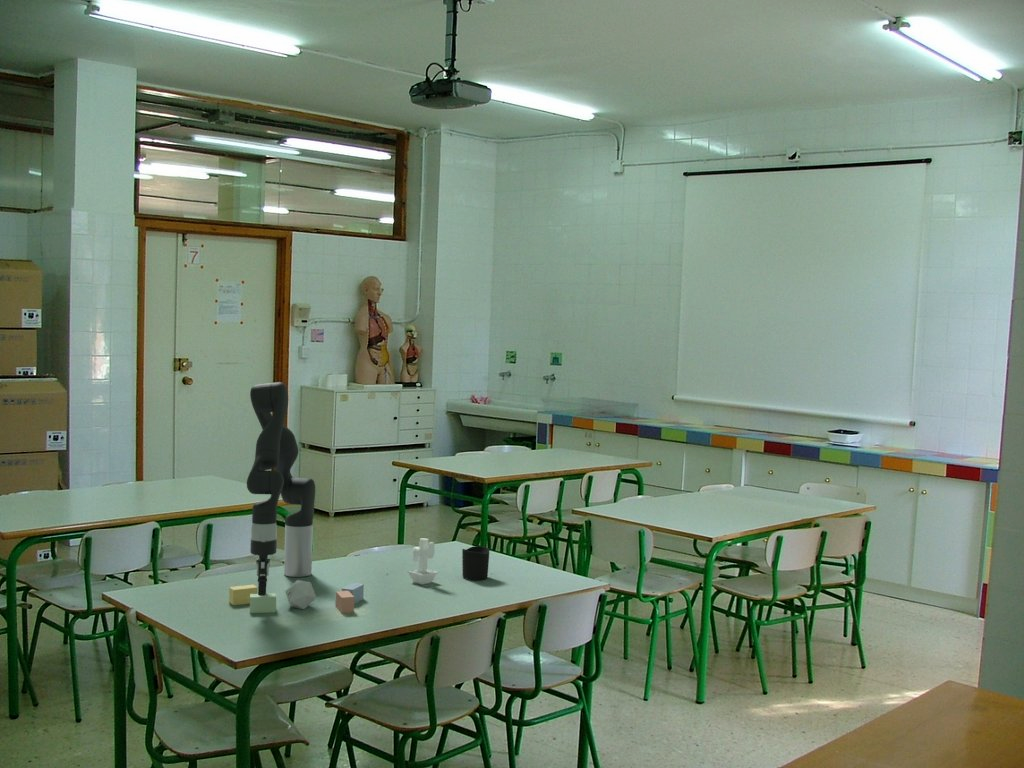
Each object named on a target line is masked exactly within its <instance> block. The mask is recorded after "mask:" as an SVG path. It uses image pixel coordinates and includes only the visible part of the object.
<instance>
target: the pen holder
mask: <svg viewBox="0 0 1024 768" xmlns="http://www.w3.org/2000/svg"><path fill="white" fill-rule="evenodd" d="M461 554H462V555H461V556H462V558H461V559H462V561H461V562H462V577H463V579H465V580H469V581H484V580H487V578H488V574H489V563H490V562H489V561H490V548H488V547H486V546H478V545H475V546H471V547H469V548H466V549H465V548H462V552H461Z"/></svg>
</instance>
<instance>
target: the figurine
mask: <svg viewBox="0 0 1024 768" xmlns="http://www.w3.org/2000/svg"><path fill="white" fill-rule="evenodd" d="M434 556H435V542H433V541H430V542H429V539H428V538H426V537H425V538H424V537H423V538H419V542H418V546H414V547H413V549H412V562H413V563H418V569H417V568H416V569H413V570H408V571H407V573H408V574H409V576H410V579H411V580H412V582H413V583H415V584H418V585H423V586H424V585H428V584H432V583H433V582H434V580H435V578H436V576H437V575H438V573H439V572H438V571H435V570H431V569H429V568H428V559H433V558H434Z"/></svg>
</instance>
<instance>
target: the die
mask: <svg viewBox="0 0 1024 768" xmlns="http://www.w3.org/2000/svg"><path fill="white" fill-rule="evenodd" d="M284 593H285V595H286V598H287V601H288V604H289V606H290V608H295V609H300V610H305V609H306V608H307V607H309V605H311V603H312V602H314V601H315V600H316V599H317V596H316V592H315V590H314V588H313V585H312V582H310V581H307V580H306V581H305V580H301V579H297V580H295V581H294V583H292V584H291V585H290V586H289V587H288V588H287V589H286V590H285V591H284Z"/></svg>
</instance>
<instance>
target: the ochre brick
mask: <svg viewBox="0 0 1024 768" xmlns="http://www.w3.org/2000/svg"><path fill="white" fill-rule="evenodd" d="M228 590H229V591H228V594H229V595H228V596H229V597H228V603H229V604H231V605H232V606H237V605H240V606H241V605H247V604H250V594H258V586H256V585H255V584H246V585H236V586H229V589H228Z"/></svg>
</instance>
